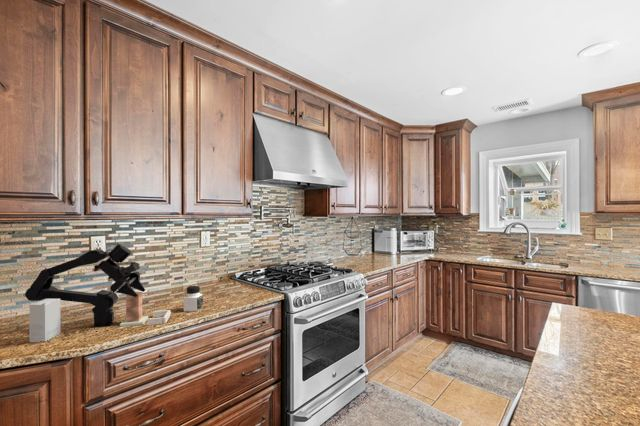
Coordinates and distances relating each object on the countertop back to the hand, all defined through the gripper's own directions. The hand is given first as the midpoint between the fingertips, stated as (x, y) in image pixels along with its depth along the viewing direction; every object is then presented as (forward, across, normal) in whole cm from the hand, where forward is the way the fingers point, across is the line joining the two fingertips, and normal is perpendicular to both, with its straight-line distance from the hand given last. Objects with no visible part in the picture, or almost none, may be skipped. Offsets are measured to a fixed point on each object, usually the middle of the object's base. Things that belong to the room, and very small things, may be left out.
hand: (140, 293), depth 139 cm
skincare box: (-12, -13, +30) cm, 35 cm away
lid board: (+7, 0, +11) cm, 13 cm away
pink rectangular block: (+6, 0, +10) cm, 12 cm away
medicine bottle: (+23, +14, -4) cm, 27 cm away
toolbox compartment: (+14, +1, +4) cm, 15 cm away
